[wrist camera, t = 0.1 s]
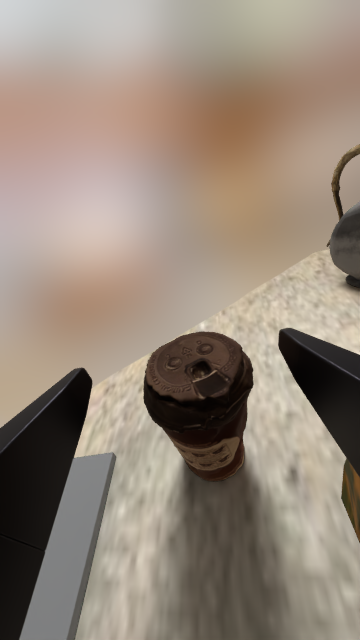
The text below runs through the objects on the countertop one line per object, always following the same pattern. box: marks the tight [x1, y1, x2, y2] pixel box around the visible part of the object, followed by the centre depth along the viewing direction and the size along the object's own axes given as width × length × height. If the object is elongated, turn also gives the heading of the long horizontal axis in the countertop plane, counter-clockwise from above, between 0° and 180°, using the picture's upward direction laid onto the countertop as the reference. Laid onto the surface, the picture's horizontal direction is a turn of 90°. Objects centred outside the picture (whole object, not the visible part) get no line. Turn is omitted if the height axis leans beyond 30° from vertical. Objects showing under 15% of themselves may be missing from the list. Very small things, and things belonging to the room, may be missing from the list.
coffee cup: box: [143, 332, 254, 481], centre depth 17 cm, size 9×8×13 cm
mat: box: [19, 452, 116, 640], centre depth 17 cm, size 11×12×1 cm
